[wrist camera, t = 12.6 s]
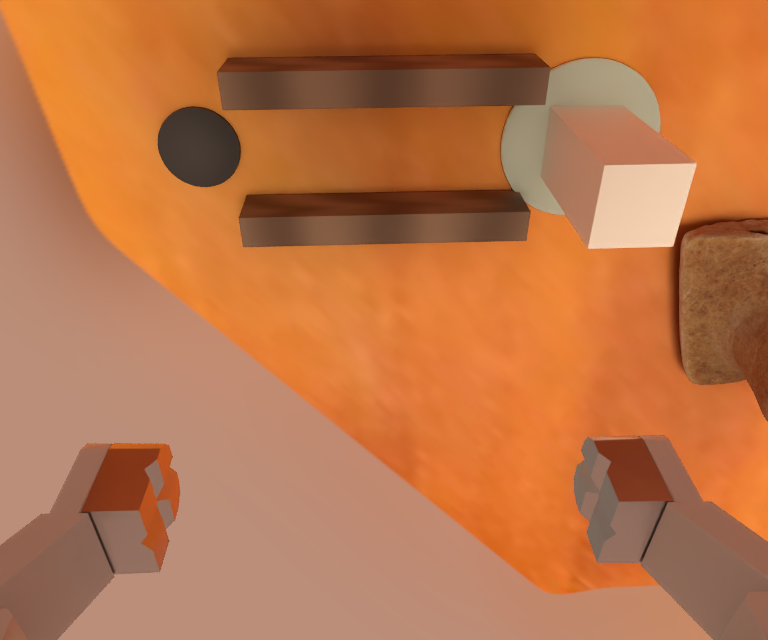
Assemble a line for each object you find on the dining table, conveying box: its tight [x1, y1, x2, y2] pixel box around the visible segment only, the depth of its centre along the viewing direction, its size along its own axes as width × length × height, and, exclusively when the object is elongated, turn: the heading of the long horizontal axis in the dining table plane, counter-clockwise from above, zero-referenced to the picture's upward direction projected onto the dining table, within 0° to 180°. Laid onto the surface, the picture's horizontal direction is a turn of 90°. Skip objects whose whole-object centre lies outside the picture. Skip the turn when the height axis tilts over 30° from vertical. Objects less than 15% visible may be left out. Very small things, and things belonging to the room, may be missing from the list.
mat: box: [500, 57, 660, 215], centre depth 40 cm, size 10×10×1 cm
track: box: [217, 54, 551, 247], centre depth 38 cm, size 18×10×4 cm, turn 90°
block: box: [540, 105, 697, 249], centre depth 35 cm, size 4×4×10 cm
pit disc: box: [158, 107, 241, 187], centre depth 39 cm, size 5×5×1 cm
